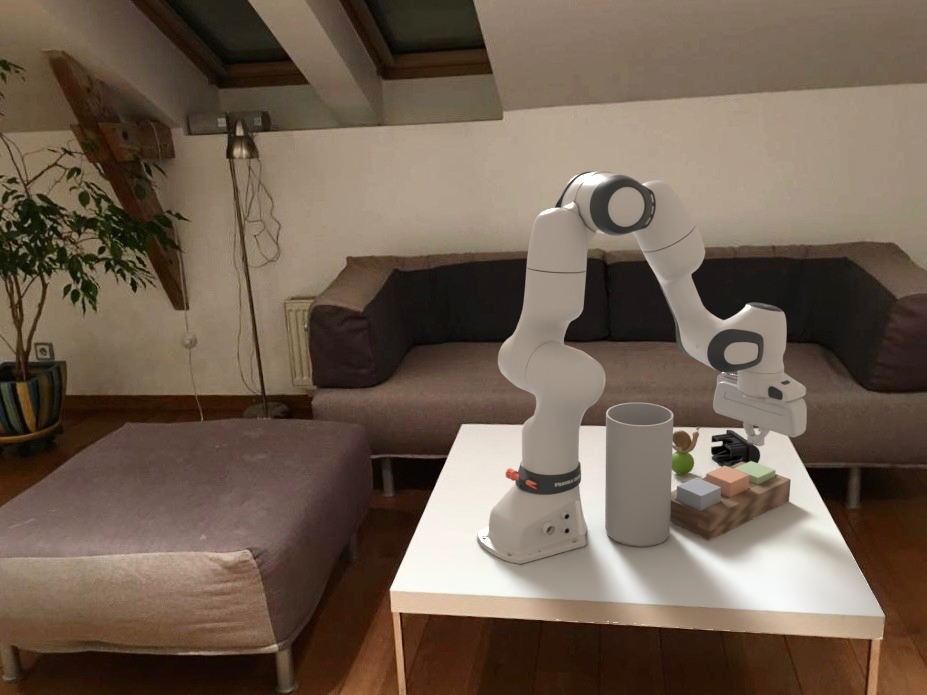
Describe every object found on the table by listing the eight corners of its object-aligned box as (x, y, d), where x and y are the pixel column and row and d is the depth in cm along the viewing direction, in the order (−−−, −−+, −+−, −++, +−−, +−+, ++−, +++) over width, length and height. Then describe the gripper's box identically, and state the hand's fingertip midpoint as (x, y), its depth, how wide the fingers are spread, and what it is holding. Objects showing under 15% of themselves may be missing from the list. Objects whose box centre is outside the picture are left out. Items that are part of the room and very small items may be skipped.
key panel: (708, 540, 160) (709, 517, 159) (660, 518, 169) (661, 495, 168) (789, 501, 174) (790, 479, 173) (740, 482, 184) (742, 461, 182)
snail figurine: (692, 481, 185) (694, 431, 182) (665, 475, 189) (666, 425, 186) (701, 472, 189) (703, 423, 186) (674, 466, 193) (676, 418, 190)
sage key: (756, 495, 172) (758, 477, 171) (732, 485, 177) (733, 468, 176) (774, 487, 175) (775, 469, 174) (750, 478, 180) (751, 461, 179)
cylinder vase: (624, 511, 173) (625, 398, 166) (680, 528, 165) (684, 410, 158) (593, 536, 163) (593, 417, 156) (651, 555, 156) (654, 430, 149)
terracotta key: (729, 501, 167) (730, 483, 166) (705, 491, 171) (706, 473, 170) (748, 492, 170) (749, 474, 169) (724, 483, 175) (724, 465, 174)
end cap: (759, 471, 189) (761, 443, 187) (731, 475, 188) (732, 447, 186) (736, 454, 198) (738, 427, 197) (709, 458, 197) (710, 431, 195)
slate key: (700, 514, 162) (701, 496, 161) (676, 504, 166) (676, 485, 165) (720, 505, 165) (721, 487, 164) (695, 495, 170) (696, 477, 169)
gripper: (708, 372, 176) (705, 433, 180) (794, 396, 160) (789, 463, 164) (727, 366, 179) (723, 426, 183) (813, 389, 163) (808, 455, 167)
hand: (755, 444), depth 173 cm, fingers closed
